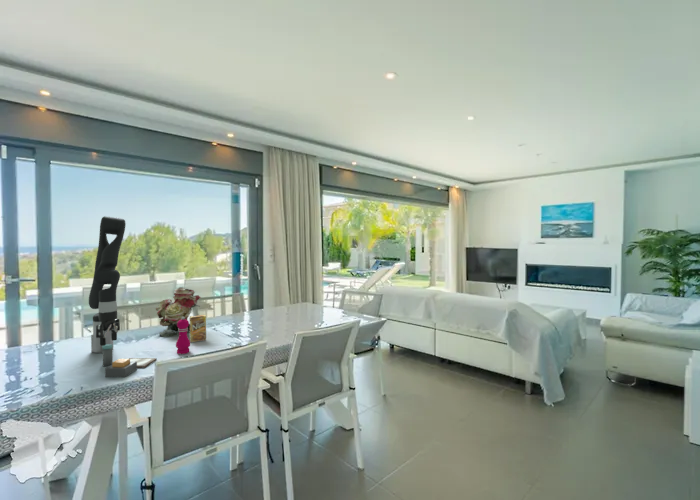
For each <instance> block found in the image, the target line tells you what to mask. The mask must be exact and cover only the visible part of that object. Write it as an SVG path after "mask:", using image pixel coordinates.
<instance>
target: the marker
mask: <svg viewBox="0 0 700 500" xmlns="http://www.w3.org/2000/svg"><path fill="white" fill-rule="evenodd" d="M112 348H113V349H114V343H113V344H106V345H104V346H102V349H103V353H102V367H105V368H107V367H108V366H110V365H112V362H114V361H113V355H114V354H113V350H112Z"/></svg>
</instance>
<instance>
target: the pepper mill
mask: <svg viewBox="0 0 700 500" xmlns="http://www.w3.org/2000/svg"><path fill="white" fill-rule="evenodd" d="M189 324H190V320H188V319H187V320H186V319H185V317H182V318H181V320H179V321H178V322H177V327H178V331H177V332H179V335H178V338H177V340H176V343H175V347H176V348H177V349H176V353H177V354H178V355H185V354H188V353H190V347H191V342H190V338H189V336H188V334H187V332H189V331H188V328H187V327H188V326H189Z"/></svg>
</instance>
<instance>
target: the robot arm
mask: <svg viewBox="0 0 700 500" xmlns="http://www.w3.org/2000/svg"><path fill="white" fill-rule="evenodd" d="M126 224H127V223H126V219H123V218H120V217H113V216H106V215H105V216H102V217H101V220H100V225H99V236H98V237H99V238H98V246H97V253H96V257H95V258H96V259H95V264H94V274H93V278H92V279H93V280H92V284H91V288H90V290H89V294H88V304H89V305H88V306H89V307H90V309H93V310H98V313H95V314H94V315H93V316H92V334H91V335H90V338H91V339H90V340H91V341H90V343H91V347H90V349H91V350H90V351H91V353H94V354H103V349H102V346H104V345H106V344H113V345H114V341H117V340H118V332H119V331H120V330H121V325H120V324H121V323H120V318H118V303H117V289H118V285H119V282H120V278H121V273H120V272H119V271H118V270H117V269H116V267H117V266H118V261H119V255H120V249H121V246H122V243H123V239H124V235H125V230H126ZM107 235H112V236H114V235H115V238H114V239H112V241H111V242H110V243H109V241H108V237H107ZM105 285H110V286H109V287H107V288H104V287H105ZM113 350H114V347H113V348H112V351H113Z"/></svg>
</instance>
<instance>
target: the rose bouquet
mask: <svg viewBox="0 0 700 500" xmlns="http://www.w3.org/2000/svg"><path fill="white" fill-rule="evenodd" d="M195 292H196V291H194V289H189V288H186V287H183V286H182V287H177V288H175V289H174V292H173V295H174V296H172V297H173V300H174V301H172V299H171V298H167V299H166V298H165V299H163V300H162V301H160V302H159V304H158V307H156V308H155V311H157V312H156V315H157V317H158V319H160V321H159V324H160V325H161V326H162V327H165V329H163V331H161V332H159V335H160V336H161V337H162V338H168V337H177V336H179V331H178V327H177V322H178V321H179V320H181V318H182V317H185V319H186V320H188V319H189V318H190V314H191V313H192V308H193V309H194V308H196V307H201V306H200V305H199V304H198V301H199V300H200V299H201V298H202V297H201V296H200V295H199V294H198V295H195ZM197 304H198V305H197ZM187 328H188V331H187V335H188V334H189V335H190V323H189V326H188V327H187Z"/></svg>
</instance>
